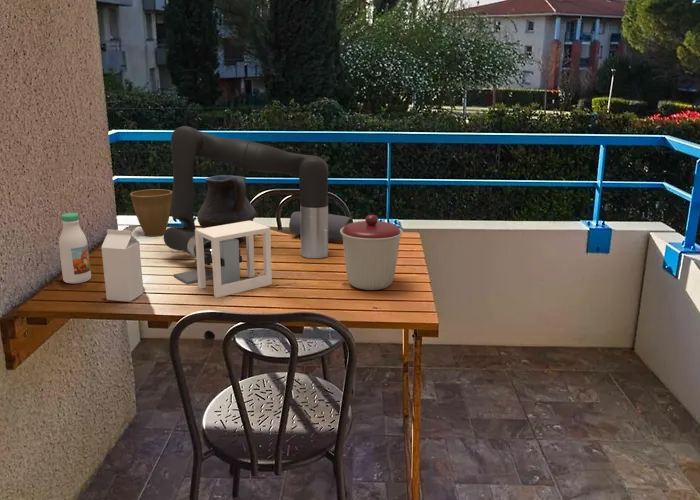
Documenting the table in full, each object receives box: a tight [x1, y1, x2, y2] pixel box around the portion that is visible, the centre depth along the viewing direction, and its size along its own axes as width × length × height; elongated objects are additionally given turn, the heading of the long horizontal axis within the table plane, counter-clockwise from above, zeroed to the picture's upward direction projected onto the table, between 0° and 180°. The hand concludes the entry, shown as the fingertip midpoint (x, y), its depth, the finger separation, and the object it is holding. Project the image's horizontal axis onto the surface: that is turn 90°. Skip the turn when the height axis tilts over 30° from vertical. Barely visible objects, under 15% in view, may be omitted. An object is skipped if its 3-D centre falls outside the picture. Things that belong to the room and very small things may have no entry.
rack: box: [195, 220, 273, 299], centre depth 182 cm, size 11×18×17 cm, turn 130°
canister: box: [340, 214, 404, 291], centre depth 183 cm, size 18×18×21 cm
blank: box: [219, 238, 241, 285], centre depth 185 cm, size 5×5×13 cm
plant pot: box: [130, 188, 173, 237], centre depth 237 cm, size 15×15×16 cm
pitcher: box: [196, 174, 257, 244], centre depth 227 cm, size 21×22×25 cm
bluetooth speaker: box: [288, 211, 354, 242], centre depth 233 cm, size 23×9×10 cm, turn 67°
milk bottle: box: [58, 212, 92, 284], centre depth 185 cm, size 8×8×20 cm
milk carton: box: [100, 229, 144, 302], centre depth 172 cm, size 7×7×19 cm
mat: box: [173, 269, 213, 286], centre depth 191 cm, size 9×9×1 cm
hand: (232, 261), depth 183 cm, fingers closed on blank, 5 cm apart
